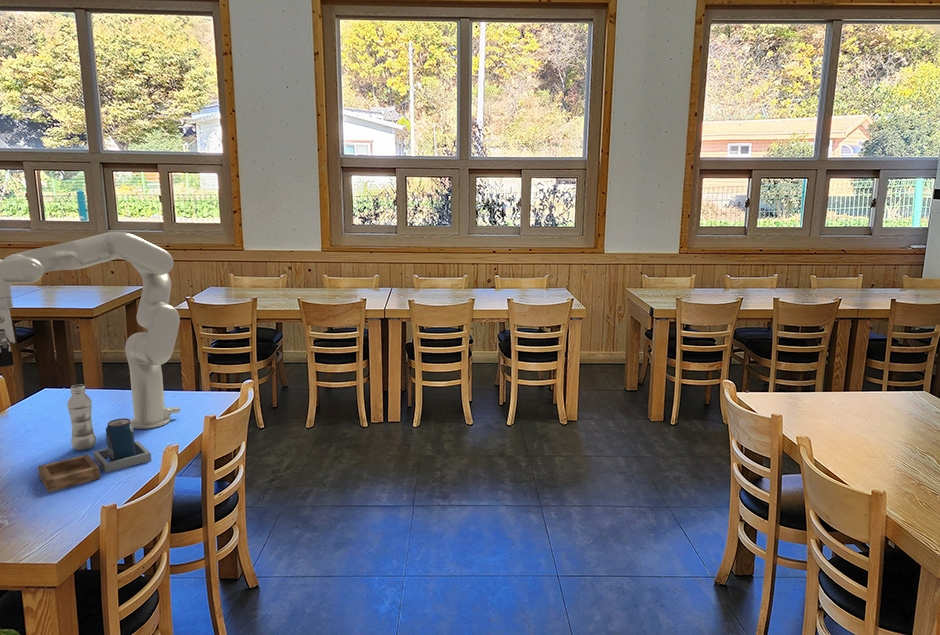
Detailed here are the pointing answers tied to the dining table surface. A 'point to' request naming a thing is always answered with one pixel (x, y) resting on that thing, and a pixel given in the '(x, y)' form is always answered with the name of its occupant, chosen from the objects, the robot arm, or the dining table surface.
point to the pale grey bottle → (81, 419)
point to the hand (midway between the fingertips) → (4, 362)
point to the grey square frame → (122, 463)
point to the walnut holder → (68, 472)
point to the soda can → (120, 439)
